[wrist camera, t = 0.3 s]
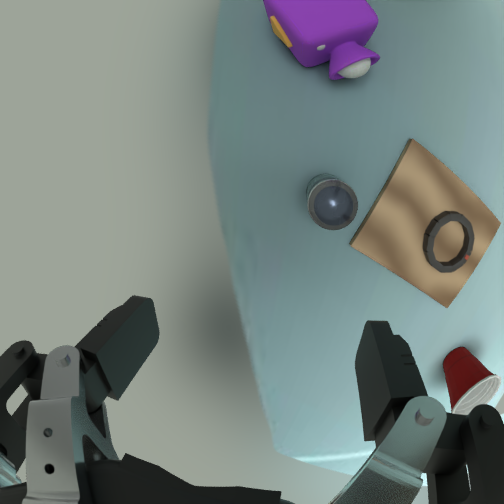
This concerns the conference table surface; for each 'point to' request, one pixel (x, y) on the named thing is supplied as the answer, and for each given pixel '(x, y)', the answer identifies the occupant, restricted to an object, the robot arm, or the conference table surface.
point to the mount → (427, 226)
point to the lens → (331, 202)
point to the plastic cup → (468, 381)
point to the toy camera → (326, 33)
